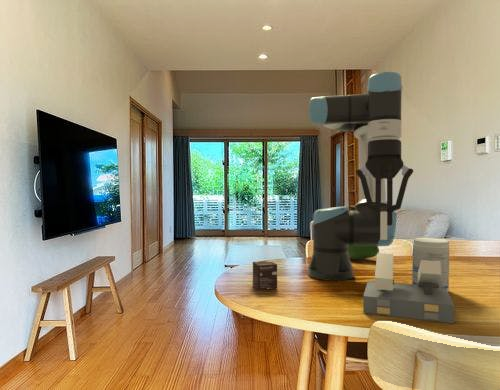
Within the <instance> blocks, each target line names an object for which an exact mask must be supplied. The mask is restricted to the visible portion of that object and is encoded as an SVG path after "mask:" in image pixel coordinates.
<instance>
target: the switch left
mask: <svg viewBox="0 0 500 390" xmlns="http://www.w3.org/2000/svg"><path fill="white" fill-rule="evenodd" d="M375 262H376V265H375V271H374V272H375V274H374V281H375V289H380V290H391V291H393V280H394V253H386V252H385V253H383V252H379V253H377V255H376V261H375Z"/></svg>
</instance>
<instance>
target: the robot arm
mask: <svg viewBox="0 0 500 390" xmlns="http://www.w3.org/2000/svg"><path fill="white" fill-rule="evenodd" d="M402 85H403V84H402V76H401V74H400V73H398V72H396V71H382V72H377V73H374V74H371V76H370V77H369V78H368V80H367V88H366V89H367V93H358V94H357V93H356V94H355V93H354V94H346V95H345V94H343V95H326V96H324V95H321V96H315V97H311V98H310V99H309V104H308V113H309V115H308V117H309V122H310V124H311V125H314V126H315V125H317V126H323V127H325V128H327V129H329V130H333V131H339V132H353V136H354V137H355V138H356V139H357V140H358V169H357V170H356V171H355V173H356V175H357V176H358V200H359V201H358V202H357V203H355V205H354V210H350V208H349V207H348V206H347V205H346V206H345V205H344V206H334V207H326V208H319V209H316V210H315V211H314V212H313V220H312V226H313V229H312V230H313V233H312V235H313V236H312V241H313V242H312V243H313V244H312V245H313V246H312V255H311V258H310V261H309V264H308V267H307V275H308V277H310V278H313V279H317V280H323V281H324V280H326V281H346V280H351V279H352V278H354V276H355V275H354V274H355V273H354V268H353V264H352V261H351V258H350V257H349V255H348V245H358V246H376V247H378V248H379V247H389V246H391V245H392V244H393V242H394V239H395V236H396V235H395V234H396V228H397V218H398V217H397V210H400V209H401V208H402V205H403V204H402V203H403V200H404V196H405V192H406V189H407V184H408V182H409V178H410V177H411V175H412V174H413V173H414V169H413V168H409V167H408V166H406V165H405V164H404V161H403V159H402V141H401V140H400V138H402V96H403V95H402V90H403V86H402ZM400 171H401V175H402V176H403V177H402V179H401V183H400V186H399V191H398V194H397V197H396V198H397V199H396V202H395V204H394V203H393V199H394V197H393V196H394V195H393V194H394V193H393V191H394V190H393V189H394V187H393V180H394V178H395V177H396V176H397V175H398V174H399V172H400Z"/></svg>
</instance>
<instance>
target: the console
mask: <svg viewBox="0 0 500 390" xmlns="http://www.w3.org/2000/svg"><path fill="white" fill-rule="evenodd" d="M362 306H363V308H362V309H363V311H362V313H363V314H370V315H378V316H380V315H381V316H387V317H396V318H404V319H405V318H406V319H414V320H423V321H432V322H439V323H448V324H455V304H454V302H453V300H452V298H451V296H450V293H449V291H448V292H447V290H446V288H445V287H439V283H427V282H418V285H415V284H412V283H400V282H395V280H394V279H393V291H391V290H380V289H375V280H367V283H366V285H365V290H364V292H363V299H362Z"/></svg>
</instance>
